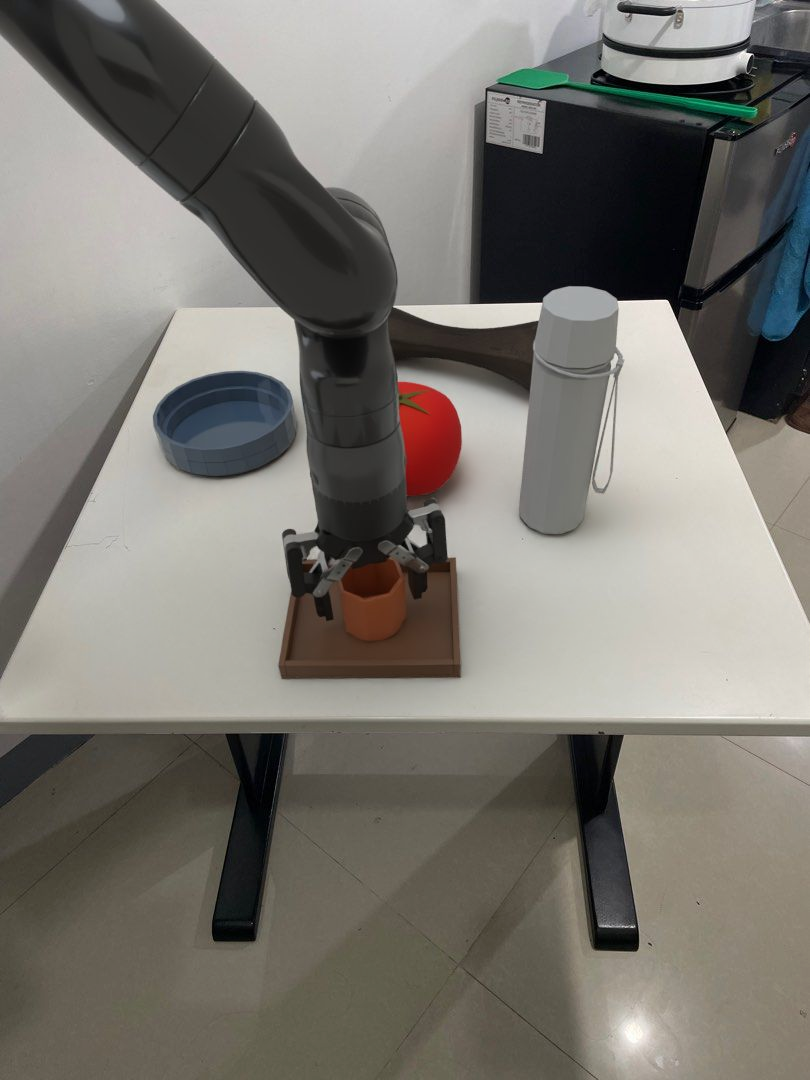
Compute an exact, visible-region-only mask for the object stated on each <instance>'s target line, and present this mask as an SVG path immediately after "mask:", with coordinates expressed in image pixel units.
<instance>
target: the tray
mask: <svg viewBox="0 0 810 1080" xmlns="http://www.w3.org/2000/svg"><path fill="white" fill-rule="evenodd" d="M317 560H318V558H317V559H316V558H315V559H312V558H309V559H308V558H307V561H305V562H303V561H302V564H303V572H309V571H310V570H311V568H312V567H313V566H314V564H315V563H316V561H317ZM399 565H400V567H401V570H402V572H403V575H404V580H405V598H406V618H405V620H404V621H403V624H402V626H401V627H400V629H399V630H398V631H397V632H396V633H395V634H394V635H392V636H391V637H389V638H387V639H384V640H380V641H364V640H361V639H358V638H356V637H354V636H353V635H351V634H350V633H348V632H347V631H346V628H345V625H344V622H343V618H342V615H341V610H340V603H339V597H338V590H337V584H336V582H334V584H333V585H332V586H331V588H330V589H329V594H330V599H331V605H332V612H333V618H334V620H330V621H326V618H325V616H324V617H319V616H318V615H317V612H316V608H315V604H314V599H313V595H312V594H309V593H305V594H304V595H303V596H302V597H294V596H293V595H292V592H291V591H290V594H289V600H288V606H287V613H286V617H285V623H284V629H283V634H282V639H281V641H282V642H281V646H280V651H279V658H278V664H277V667H278V670H279V674H280V679H282V680H285V679H286V680H290V679H297V680H298V679H299V680H300V679H417V678H418V679H421V678H423V679H424V678H426V679H429V678H430V679H431V678H434V679H435V678H438V679H439V678H442V679H443V678H444V679H445V678H461V667H462V665H461V663H462V662H461V644H460V643H461V642H460V622H459V621H460V620H459V619H460V618H459V598H458V577H457V575H458V573H457V558H456V557H455V556H453V557H448V558H447V560H446V562H444V563H442V564H437V563H436V562H435V563H433V564H431V565H430V566H429V568H428V570H427V586H428V588H427V590H426V592H423V593H422V598H420V599H416V600H414V598H413V596H412V593H411V591H410V588H409V584H408V566H406V567H405V566H403V565H402V564H400V563H399Z"/></svg>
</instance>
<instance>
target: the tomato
mask: <svg viewBox="0 0 810 1080" xmlns="http://www.w3.org/2000/svg"><path fill="white" fill-rule="evenodd" d="M398 395H399V415H400V423H401V428H402V432H403V438H404V447H405V453H406V458H407V464H406V467H405V468H406V489H407V497H417V496H425V495H428V494H431V493H434V492H436V491H437V490H439V489H441V488H442V487H443V486H444V485H446V483H447V482H448V481H449V480H450V479H451V477H452V476H453V474H454V472H455V470H456V468H457V465H458V462H459V459H460V455H461V452H462V448H463V447H462V446H463V437H462V424H461V421H460V417H459V414H458V411H457V409H456V407H455V405H454V404H453V402H452V400H451V398H449V397H448V396H447V395H445V393H443V392H441V391H439V390H437V389H436V388H432V387H431V386H428V385H424V384H421V383H416V382H410V381H398Z"/></svg>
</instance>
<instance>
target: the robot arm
mask: <svg viewBox="0 0 810 1080" xmlns="http://www.w3.org/2000/svg"><path fill="white" fill-rule="evenodd" d="M168 11H169V10H167V9H165V8H164V7H163V6H162V5H161V4H160V3H159V2H158V1H157V0H0V37H2V39H3V40H5V42H7V43H8V44H9V46H10V47H12V48H13V49H14V50H15V52H17V53H18V55H20V57H22V59H23V60H24V61H25V62H26V63H27V64H28V65H30V67H31V68H32V69H33V70H34V71H35V72H36V73H37V74H38V75H39V76H40V77H41V78H42V79H43V80H44V81H45V82H46V84H47V85H49V86H50V87H51V88H52V89H53V90H54V91H55V92H56V93H57V94H58V95H59V96H60V97H61V99H63V100H64V102H66V103H67V104H68V105H69V106H70V107H71V108H72V110H74V111H75V112H76V113H77V114H78V115H79V116H80V117H81V118H82V119H83V120H84V121H85V122H86V123H87V124H88V125H89V126H91V128H93V129H94V130H95V131H96V132H97V133H98V134H99V135H100V136H101V137H102V138H103V139H104V140H106V141H107V143H109V144H110V145H111V146H112V147H113V148H114V149H115V150H116V151H118V152H119V153H120V154H121V155H122V156H123V157H124V158H126V159H127V160H128V161H129V162H130V164H132V165H133V166H135V167H137V169H138V170H140V171H141V172H142V173H143V174H144V175H145V176H146V177H148V179H150V180H151V181H153V183H155V184H156V185H157V186H158V187H159V188H161V189H162V190H163V191H164V192H166V194H168V195H169V196H170V197H171V198H173V200H174V201H176V202H178V203H179V204H180V205H181V206H182V207H183V208H185V209H186V210H187V211H188V212H190V213H191V214H192V215H193V216H195V217H196V218H198V219H199V220H200V221H201V222H202V223H204V224H205V225H206V226H207V227H208V228H209V229H210V230H211V231H212V232H213V234H214V235H215V236H216V237H217V239H219V241H220V242H221V243H222V245H223V246H224V247H225V248H226V250H227V251H228V252H229V253H230V255H231V256H232V257H233V259H235V260H236V261H237V262H238V264H240V266H241V267H242V268H243V269H244V270H245V272H246V273H247V274H248V275H249V277H251V278H252V280H253V281H254V282H255V283H256V284H257V285H258V286H259V287H260V289H262V290H263V292H264V293H265V294H266V295H267V296H268V297H269V298H270V299H271V300H272V301H273V302H274V303H275V304H276V305H277V306H278V307H279V308H280V309H281V310H282V311H283V312H284V313H286V314H287V315H288V316H289V317H290V318H291V319H292V320H293V322H294V327H295V328H294V329H295V333H296V337H297V344H298V358H299V360H298V361H299V364H298V365H299V367H298V368H299V372H298V373H299V389H300V396H301V404H302V410H303V415H304V416H303V417H304V421H305V428H306V429H305V430H306V455H307V461H308V468H309V476H310V477H309V478H310V481H311V487H312V493H313V499H314V506H315V511H316V519H317V524H316V526H315V527H314V530H313V531H309V532H304V533H298V534H297V531H296V530H295V529H294V528H287V529H285V530H283V531H282V533H281V539H282V544H283V552H284V558H285V559H284V560H285V567H286V575H287V579H288V580H289V581H288V582H289V586H290V593H291V592H292V595H293V596H294V597H302V596H303V595H304V594H305V593H309V594H312V595H313V599H314V604H315V608H316V612H317V615H318V616H319V617H324V616H325V618H326V621H330V620H334V618H333V612H332V605H331V599H330V594H329V589H330V588H331V586H332V585H333V584H334V582H339V581H340V580H341V578H342V577H343V576H344V574H345V573H346V572H347V570H348V569H349V568H350V567H352V569H357V568H361V567H363V566H366V565H368V564H377V563H383V562H387V559H388V558H390V557H392V558H393V559H395V560H396V561H397V562H399V563H400V564H402V565H403V566H405V567H406V566H408V584H409V588H410V591H411V593H412V596H413V598H414V600H416V599H420V598H422V593H423V592H426V590H427V588H428V586H427V570H428V568H429V566H430V565H431V564H433V563H435V562H436V563H437V564H442V563H444V562H446V560H447V558H449V557H448V544H447V542H448V541H447V528H446V517H445V516H444V514H443V512H442V509H441V507H440V504H439V503H438V501H437V499H436V498H434V497H428V498H426V499H425V500H424V501H423V504H422V505H423V506H422V507H418V508H414V509H411V510H410V509H409V508H408V496H407V489H406V468H405V467H406V464H407V458H406V453H405V447H404V438H403V432H402V428H401V423H400V415H399V395H398V382H399V379H398V378H399V377H398V371H397V365H396V359H395V360H394V356H393V352H392V348H391V345H390V340H389V333H388V316H389V314H390V312H391V310H392V308H393V307H395V303H396V300H397V299H396V298H397V293H398V282H399V281H398V280H399V277H398V270H397V269H398V268H397V265H396V261H395V258H394V255H393V254H394V253H393V252H392V249H391V246H390V243H389V239H388V236H387V233H386V230H385V227H384V225H383V223H382V220H381V219H380V217H379V215H378V214H377V212H376V211H375V209H374V208H373V207H372V206H371V205H370V204H369V203H368V202H367V201H366V200H365V198H362V196H360V195H358V194H357V193H355V192H353V191H351V190H349V189H346V188H341V187H337V186H324V185H323V184H322V183H321V182H320V181H319V180H318V179H317V178H316V177H315V176H314V175H313V174H312V173H311V172H310V170H308V168H306V167H305V166H304V165H303V163H302V162H301V161H300V159H299V158H298V157H297V155H296V154H295V152H294V150H293V147H292V146H291V143H290V142H289V139H288V137H287V136H286V133H285V132H284V131H283V129H282V127H281V126H280V125H279V124H278V122H277V121H276V120H275V119H274V118H273V116H272V115H271V114H270V113H269V111H268V110H267V109H266V108H265V107H264V105H262V104H261V102H260V101H258V100H257V99H255V97H254V96H253V95H252V94H251V92H250V91H249V90H248V89H246V87H244V85H242V83H241V82H240V81H239V80H238V79H237V78H236V77H235V76H234V75H233V74H232V73H231V72H230V71H229V70H228V69H227V68H226V67H225V66H224V65H223V64H222V63H221V61H219V60H218V59H217V58H215V56H214V55H213V53H211V52H210V51H209V50H208V48H206V46H205V45H203V44H202V43H201V42H200V41H199V39H198V38H196V37H195V36H194V35H193V34H192V33H191V32H190V31H189V30H188V29H187V28H186V27H185V26H184V25H183V24H182V23H181V22H179V20H178V19H176V17H174V15H172V14H171V13H170V12H168ZM415 526H419V528H420V529H421V531H423V532H425V537H426V544H423V545H422V546H419V545H418V544H417V543H415V542H414V541H413V540H411V539H410V538H409V537H408V536H409V535H410V533H411V532H412V531H413V529H414V527H415ZM314 548H317V549H318V550H319V552H318V557H317V559H318V560H317V561H316V563H315V564H314V566H313V567H312V568H311V570H310V571H309V572H303V564H302V561H303V562H305V561H307V560H308V558H309V556H310V554H311V551H312V550H313V549H314Z"/></svg>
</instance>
